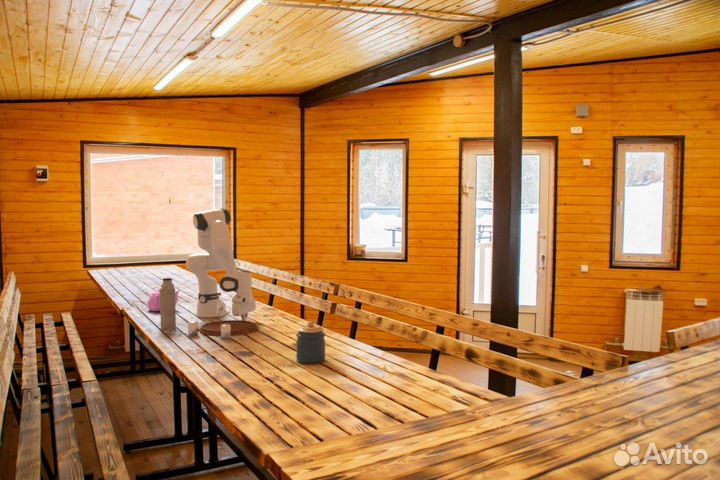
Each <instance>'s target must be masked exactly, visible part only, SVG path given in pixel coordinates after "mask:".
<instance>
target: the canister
mask: <svg viewBox="0 0 720 480" xmlns="http://www.w3.org/2000/svg"><path fill="white" fill-rule="evenodd" d="M297 331H298V332H297V333H296V334H295V335H296V337H297V338H296V342H295V344H296V355H295V358H296V362H297V363H299V364H303V365H318V364H322V363H324V362H325V361H326V358H327V356H326V339H325V337H326V335H327V334H326V332H324V328H323V327H321V325H318V324H315V323H314V321H308V323H307V324H304V325H301V326H300V327H299V328H297Z"/></svg>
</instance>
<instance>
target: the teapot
mask: <svg viewBox="0 0 720 480" xmlns="http://www.w3.org/2000/svg"><path fill="white" fill-rule="evenodd" d="M180 291H181V289H180V290H175V305H176V304H177V303H178V301H179V292H180ZM146 306H147V308H148V309H149V311H152V312H160V288H158V291H154V292H152V293H151V295H150V297H149V299H148V300H147V305H146Z"/></svg>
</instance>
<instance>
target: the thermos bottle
mask: <svg viewBox="0 0 720 480" xmlns="http://www.w3.org/2000/svg"><path fill="white" fill-rule="evenodd" d="M160 286H161V288H159V289H160V311H159V312H160V329H161V330H174V329H175V328H176V326H177V325H176V324H177V323H176V321H177V319H176V316H177V313H176V304H175V292H176V288H175V284H174V283H173V278H171V277H166V278H164V277H163V278H162V284H161V285H160Z"/></svg>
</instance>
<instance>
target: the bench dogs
mask: <svg viewBox="0 0 720 480" xmlns="http://www.w3.org/2000/svg"><path fill="white" fill-rule="evenodd" d="M187 336H188V337H197V336H199V321H197V320H194V321H193V320H191V321H188V322H187ZM231 337H232V336H231V325H230V324H222V325H221V336H220V339H221V340H230V339H231Z"/></svg>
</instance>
